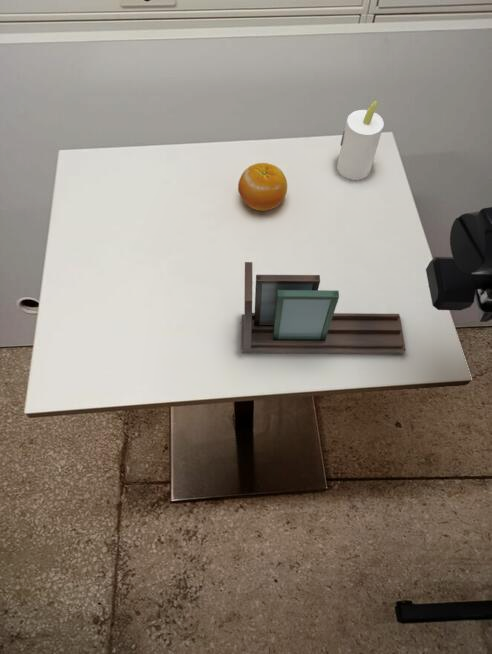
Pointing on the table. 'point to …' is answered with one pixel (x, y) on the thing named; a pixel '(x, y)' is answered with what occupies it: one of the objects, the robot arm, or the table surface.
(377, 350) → the frame display rack
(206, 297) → the table surface
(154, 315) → the table surface
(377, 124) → the candle
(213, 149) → the table surface
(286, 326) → the sash
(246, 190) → the fruit
